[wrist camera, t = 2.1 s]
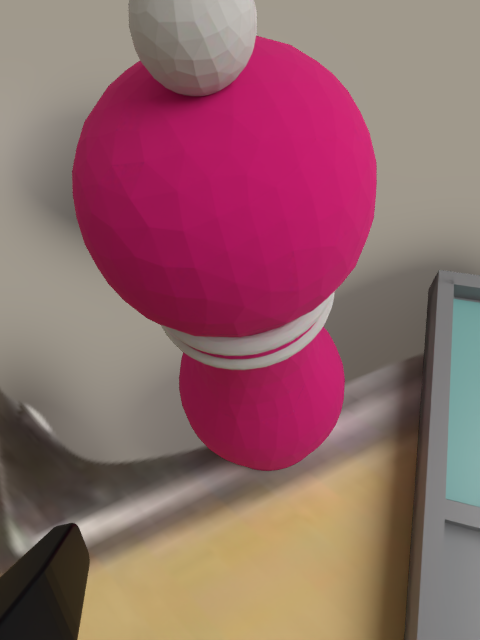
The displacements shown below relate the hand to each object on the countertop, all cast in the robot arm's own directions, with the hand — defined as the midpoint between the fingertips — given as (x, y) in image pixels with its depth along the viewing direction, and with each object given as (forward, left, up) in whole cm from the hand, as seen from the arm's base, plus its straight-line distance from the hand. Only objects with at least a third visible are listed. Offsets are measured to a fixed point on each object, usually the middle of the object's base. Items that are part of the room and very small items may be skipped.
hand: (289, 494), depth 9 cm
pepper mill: (+5, +2, -13) cm, 14 cm away
